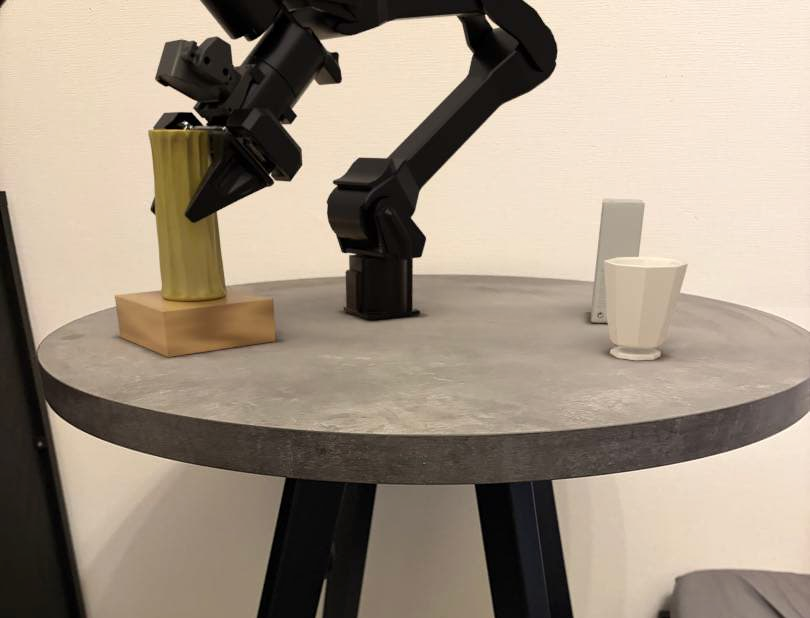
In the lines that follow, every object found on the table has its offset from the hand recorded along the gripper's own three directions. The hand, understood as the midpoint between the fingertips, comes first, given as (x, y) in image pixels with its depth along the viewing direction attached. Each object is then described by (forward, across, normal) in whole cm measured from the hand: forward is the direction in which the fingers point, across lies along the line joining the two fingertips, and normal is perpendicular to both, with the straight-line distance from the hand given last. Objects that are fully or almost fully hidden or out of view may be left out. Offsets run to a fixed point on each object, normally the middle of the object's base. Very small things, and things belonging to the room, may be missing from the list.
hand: (171, 216), depth 78 cm
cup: (-14, +29, +30) cm, 44 cm away
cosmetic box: (-21, +18, +37) cm, 46 cm away
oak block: (+7, 0, +9) cm, 11 cm away
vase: (+4, 0, +6) cm, 8 cm away
